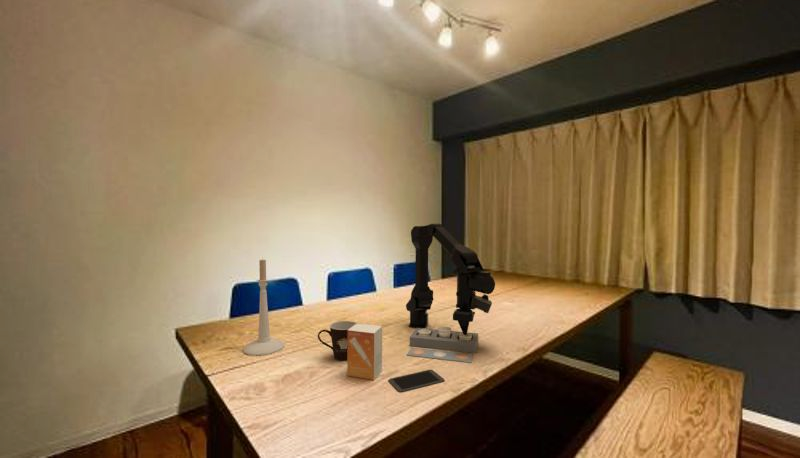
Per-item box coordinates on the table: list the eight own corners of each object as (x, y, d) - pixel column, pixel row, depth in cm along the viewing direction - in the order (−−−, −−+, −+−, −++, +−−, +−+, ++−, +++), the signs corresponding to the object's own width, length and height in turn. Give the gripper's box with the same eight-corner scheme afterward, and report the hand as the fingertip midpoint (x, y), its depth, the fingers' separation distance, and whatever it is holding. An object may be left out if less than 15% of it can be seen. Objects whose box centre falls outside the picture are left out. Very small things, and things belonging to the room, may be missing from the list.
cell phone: (446, 382, 93) (446, 380, 93) (399, 394, 87) (399, 391, 87) (431, 371, 100) (431, 368, 100) (387, 381, 94) (387, 379, 94)
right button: (457, 346, 116) (457, 336, 116) (459, 341, 120) (459, 331, 120) (471, 347, 115) (471, 337, 115) (472, 342, 119) (472, 333, 119)
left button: (416, 341, 120) (416, 332, 120) (419, 337, 124) (419, 328, 124) (429, 343, 119) (429, 333, 119) (431, 338, 123) (431, 329, 123)
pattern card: (406, 355, 110) (406, 354, 110) (411, 348, 116) (411, 347, 116) (471, 362, 104) (471, 361, 104) (472, 355, 110) (472, 353, 110)
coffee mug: (362, 353, 112) (362, 322, 111) (350, 364, 104) (350, 331, 103) (330, 348, 116) (330, 318, 115) (316, 359, 107) (315, 326, 107)
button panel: (409, 345, 118) (409, 337, 118) (416, 335, 128) (416, 327, 127) (476, 353, 112) (476, 343, 112) (478, 341, 121) (478, 333, 121)
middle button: (437, 339, 118) (437, 330, 118) (439, 335, 122) (439, 326, 122) (450, 341, 117) (450, 331, 117) (451, 336, 121) (451, 327, 121)
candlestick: (236, 348, 116) (234, 258, 114) (273, 338, 125) (271, 255, 124) (253, 359, 107) (251, 262, 106) (291, 347, 116) (290, 258, 115)
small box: (347, 376, 96) (346, 329, 95) (356, 366, 102) (356, 322, 101) (374, 380, 93) (374, 332, 93) (382, 370, 100) (382, 325, 99)
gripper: (489, 296, 106) (489, 347, 106) (491, 284, 124) (490, 327, 124) (452, 294, 109) (452, 343, 109) (459, 282, 127) (459, 325, 127)
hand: (465, 334), depth 118 cm, fingers closed
